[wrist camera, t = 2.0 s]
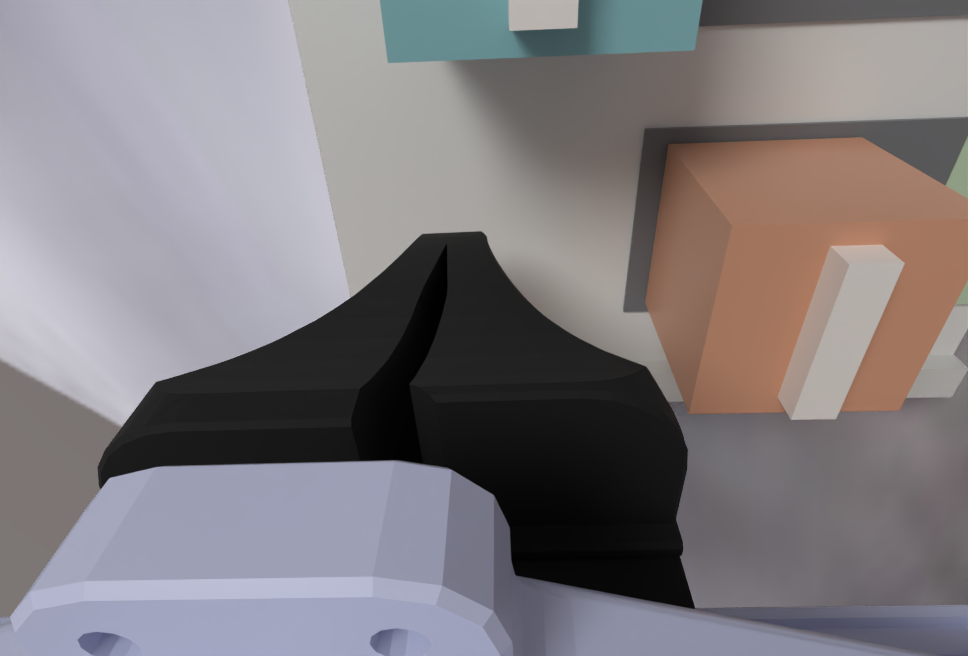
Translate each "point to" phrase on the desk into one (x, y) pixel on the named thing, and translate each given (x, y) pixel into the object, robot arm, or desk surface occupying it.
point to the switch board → (618, 142)
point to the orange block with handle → (801, 275)
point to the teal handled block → (535, 28)
